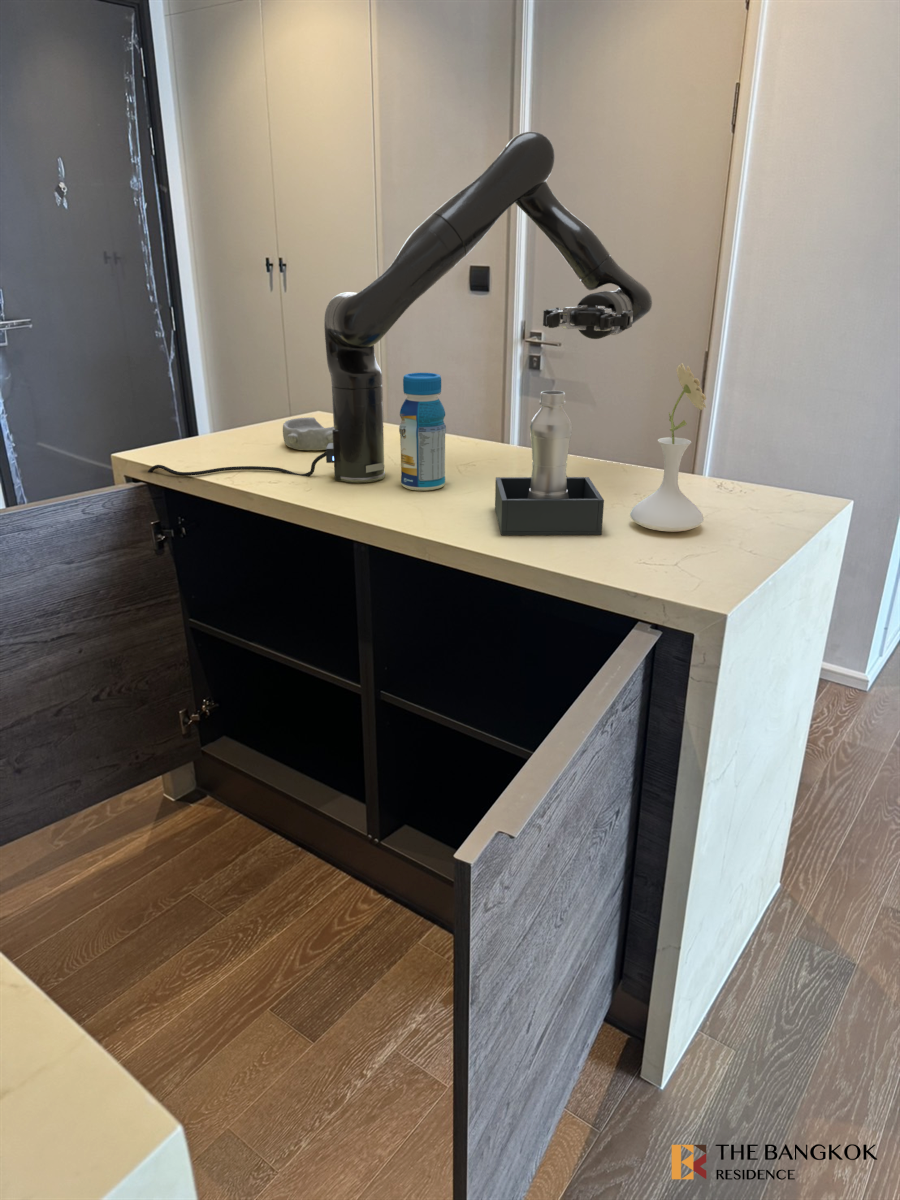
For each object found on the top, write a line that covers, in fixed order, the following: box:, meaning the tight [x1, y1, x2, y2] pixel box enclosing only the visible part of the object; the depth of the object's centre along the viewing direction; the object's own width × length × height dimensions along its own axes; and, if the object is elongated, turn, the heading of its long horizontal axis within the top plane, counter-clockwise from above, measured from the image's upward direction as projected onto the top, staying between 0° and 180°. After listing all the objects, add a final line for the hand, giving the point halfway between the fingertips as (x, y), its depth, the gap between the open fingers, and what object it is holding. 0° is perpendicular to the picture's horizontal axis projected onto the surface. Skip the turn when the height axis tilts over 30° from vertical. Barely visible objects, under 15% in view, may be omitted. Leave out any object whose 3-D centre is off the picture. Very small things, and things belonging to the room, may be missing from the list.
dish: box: [282, 416, 334, 451], centre depth 188 cm, size 14×14×5 cm
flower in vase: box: [629, 362, 707, 533], centre depth 133 cm, size 13×11×25 cm
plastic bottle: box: [528, 390, 573, 499], centre depth 135 cm, size 6×7×20 cm
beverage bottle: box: [398, 372, 447, 492], centre depth 155 cm, size 8×8×20 cm
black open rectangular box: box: [494, 476, 605, 536], centre depth 138 cm, size 16×14×6 cm
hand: (576, 322), depth 137 cm, fingers open, 8 cm apart
